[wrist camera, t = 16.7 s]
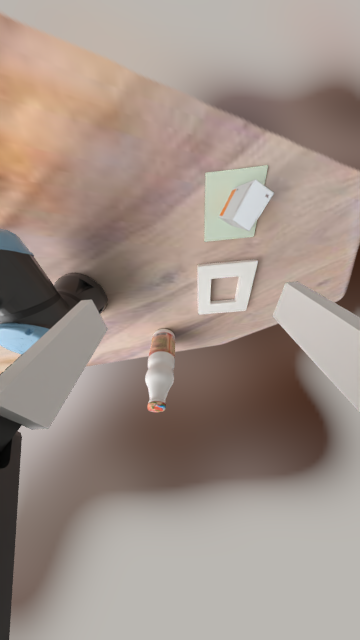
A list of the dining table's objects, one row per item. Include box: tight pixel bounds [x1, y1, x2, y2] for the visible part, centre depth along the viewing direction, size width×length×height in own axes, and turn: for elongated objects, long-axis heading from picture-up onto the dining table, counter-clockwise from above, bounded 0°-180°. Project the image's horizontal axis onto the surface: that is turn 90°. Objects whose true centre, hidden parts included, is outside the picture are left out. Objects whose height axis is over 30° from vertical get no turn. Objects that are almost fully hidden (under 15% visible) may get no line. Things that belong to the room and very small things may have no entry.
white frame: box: [197, 259, 258, 315], centre depth 46 cm, size 17×17×2 cm
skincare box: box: [219, 179, 274, 231], centre depth 29 cm, size 6×4×12 cm
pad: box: [204, 165, 268, 242], centre depth 34 cm, size 13×13×1 cm
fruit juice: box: [145, 329, 175, 412], centre depth 49 cm, size 9×9×28 cm
